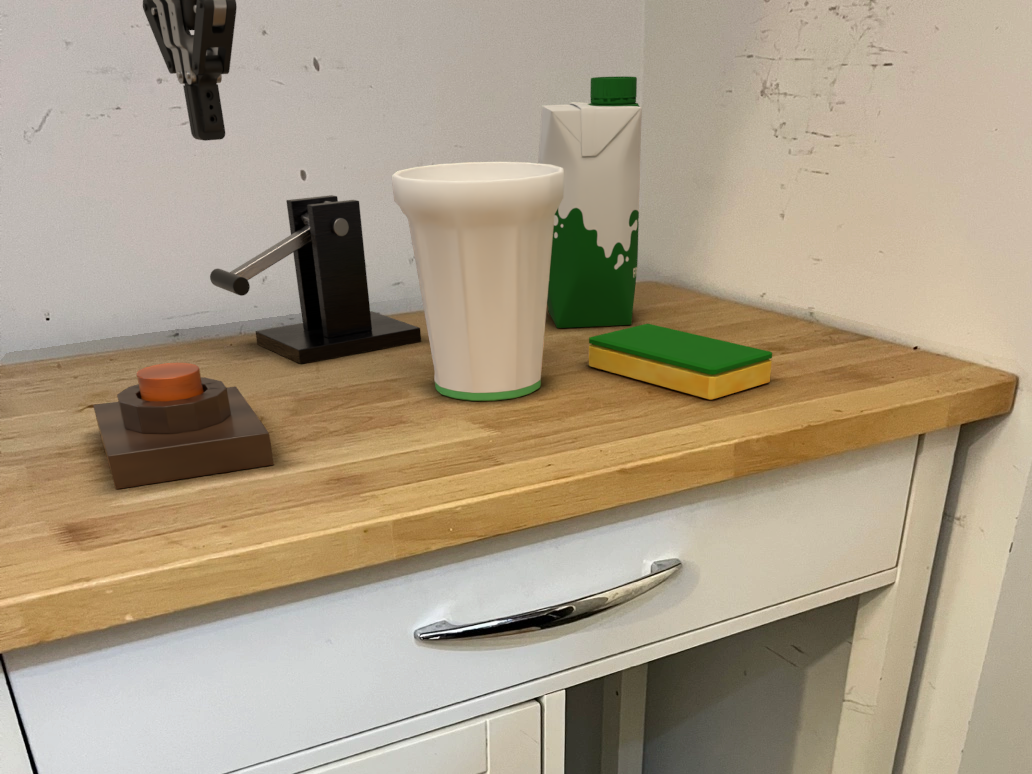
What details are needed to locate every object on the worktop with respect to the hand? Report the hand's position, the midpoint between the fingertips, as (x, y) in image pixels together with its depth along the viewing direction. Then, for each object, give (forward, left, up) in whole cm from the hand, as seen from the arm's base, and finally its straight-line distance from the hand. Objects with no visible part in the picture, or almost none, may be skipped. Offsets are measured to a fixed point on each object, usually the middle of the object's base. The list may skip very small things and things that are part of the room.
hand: (209, 139), depth 85 cm
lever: (+3, +5, -10) cm, 11 cm away
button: (+10, -21, -13) cm, 27 cm away
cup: (+23, 0, -17) cm, 29 cm away
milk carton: (+22, +24, -17) cm, 37 cm away
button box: (+10, -21, -17) cm, 29 cm away
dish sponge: (+36, +8, -17) cm, 41 cm away
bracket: (+4, +8, -17) cm, 19 cm away
